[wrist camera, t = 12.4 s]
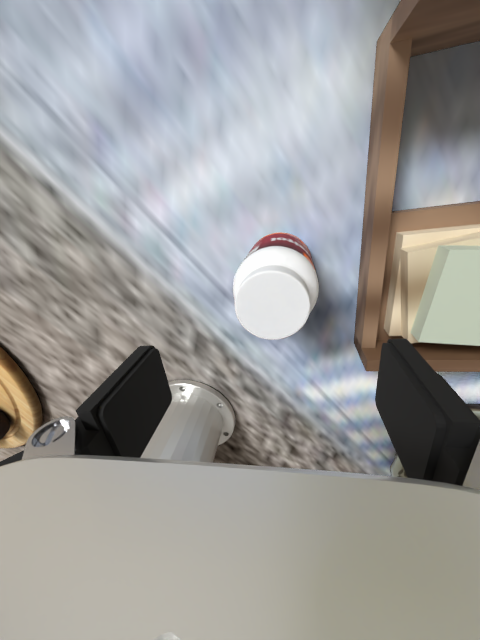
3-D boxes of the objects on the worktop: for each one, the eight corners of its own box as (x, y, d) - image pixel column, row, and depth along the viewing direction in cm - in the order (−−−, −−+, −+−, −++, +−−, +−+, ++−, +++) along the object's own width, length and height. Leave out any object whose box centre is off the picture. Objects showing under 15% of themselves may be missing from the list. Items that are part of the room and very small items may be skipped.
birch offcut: (520, 324, 22) (534, 332, 21) (383, 328, 25) (389, 335, 23) (562, 215, 18) (583, 217, 17) (396, 232, 21) (403, 235, 20)
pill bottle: (325, 257, 24) (348, 301, 14) (284, 303, 27) (281, 366, 17) (273, 216, 23) (261, 235, 14) (236, 269, 26) (205, 315, 17)
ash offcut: (533, 317, 21) (550, 326, 19) (401, 335, 23) (407, 343, 22) (556, 215, 17) (578, 216, 16) (400, 248, 20) (407, 252, 19)
